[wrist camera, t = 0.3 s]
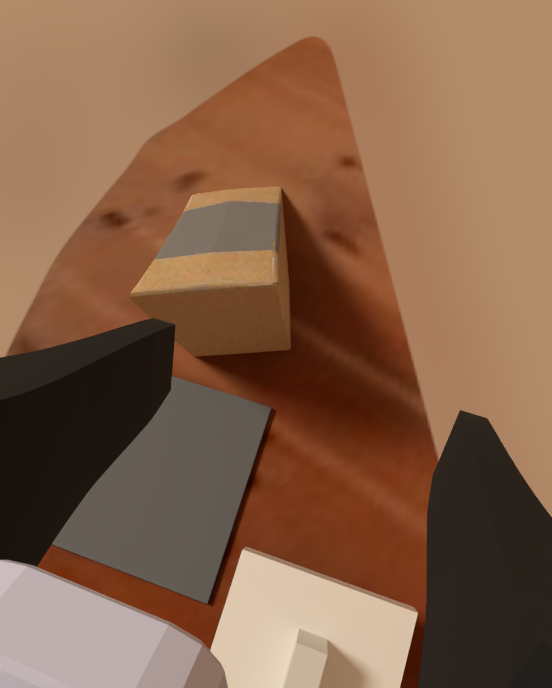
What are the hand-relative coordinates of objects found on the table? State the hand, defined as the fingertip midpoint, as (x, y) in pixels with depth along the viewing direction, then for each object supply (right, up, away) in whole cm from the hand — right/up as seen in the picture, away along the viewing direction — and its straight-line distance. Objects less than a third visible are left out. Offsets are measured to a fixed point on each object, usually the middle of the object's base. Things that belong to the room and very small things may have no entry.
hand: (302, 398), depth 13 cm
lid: (+1, -19, +20) cm, 28 cm away
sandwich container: (-4, +8, +33) cm, 34 cm away
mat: (-10, -9, +28) cm, 31 cm away
